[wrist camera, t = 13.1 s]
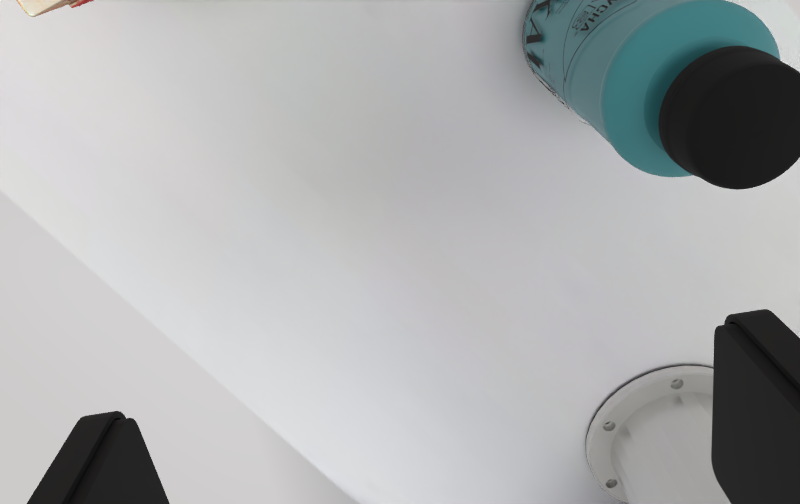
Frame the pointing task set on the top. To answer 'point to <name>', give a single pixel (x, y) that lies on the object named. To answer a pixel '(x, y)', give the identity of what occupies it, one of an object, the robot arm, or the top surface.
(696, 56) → the beverage bottle
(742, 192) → the top surface
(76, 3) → the stack of blocks
